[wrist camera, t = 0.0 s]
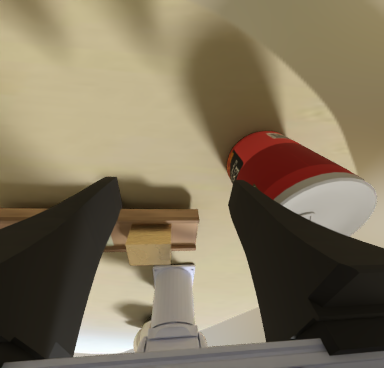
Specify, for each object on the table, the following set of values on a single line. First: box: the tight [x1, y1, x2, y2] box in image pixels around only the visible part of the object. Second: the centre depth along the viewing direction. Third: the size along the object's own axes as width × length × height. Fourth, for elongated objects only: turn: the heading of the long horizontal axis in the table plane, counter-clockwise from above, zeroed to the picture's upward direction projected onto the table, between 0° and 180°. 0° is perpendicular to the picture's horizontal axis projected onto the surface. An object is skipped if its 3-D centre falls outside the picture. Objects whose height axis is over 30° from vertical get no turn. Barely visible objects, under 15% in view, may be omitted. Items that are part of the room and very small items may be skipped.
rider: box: [125, 223, 172, 266], centre depth 21 cm, size 4×5×3 cm
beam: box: [0, 206, 199, 252], centre depth 23 cm, size 8×26×4 cm, turn 86°
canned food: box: [227, 131, 377, 236], centre depth 16 cm, size 8×8×11 cm
